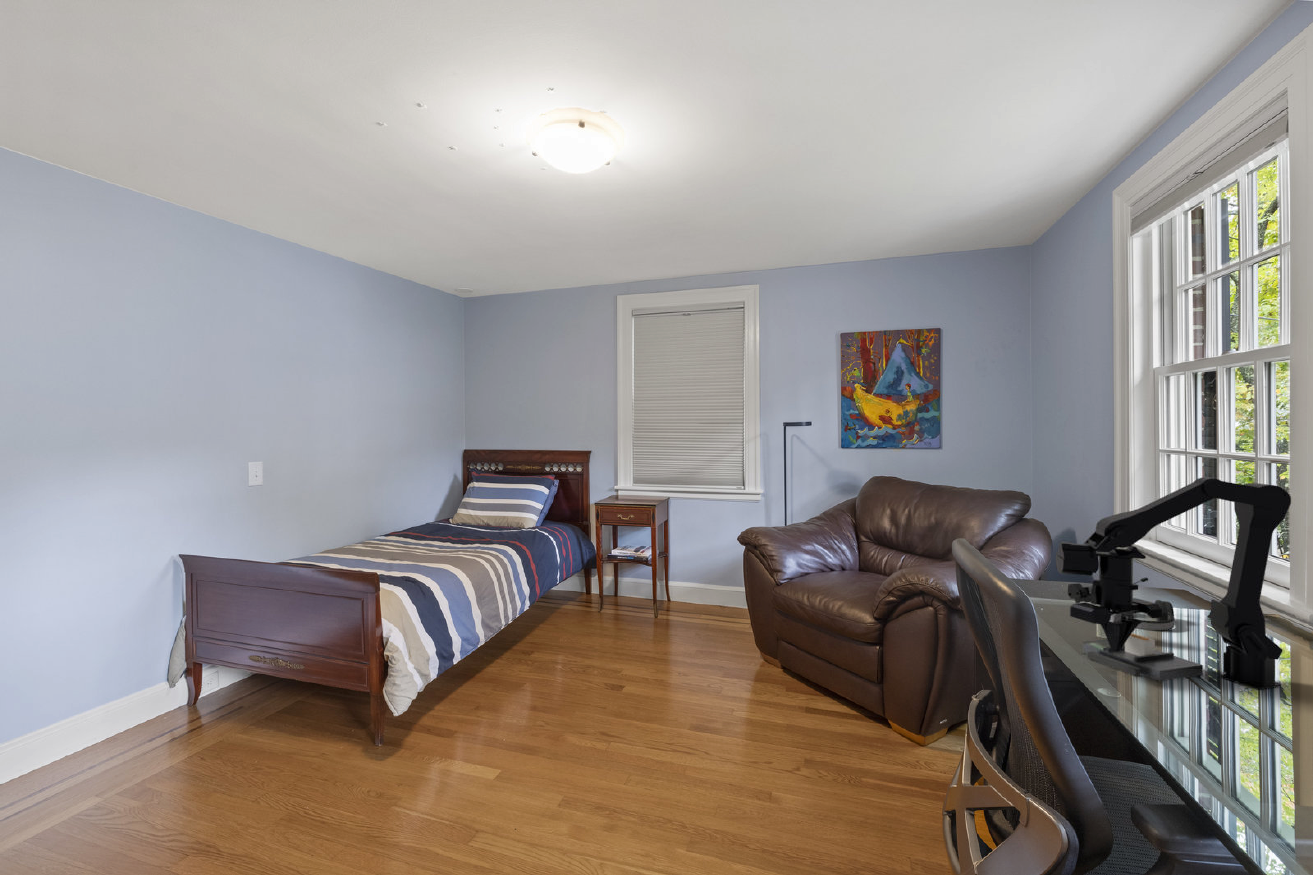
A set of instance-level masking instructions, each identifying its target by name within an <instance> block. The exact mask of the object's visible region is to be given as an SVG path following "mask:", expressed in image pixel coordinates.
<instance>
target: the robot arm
mask: <svg viewBox="0 0 1313 875" xmlns="http://www.w3.org/2000/svg"><path fill="white" fill-rule="evenodd" d="M1214 499H1218V500H1223V501H1227V502H1233V503H1234V504H1233V505H1234V506H1233V507H1234V513H1235V516H1236V519H1237V522H1238V525H1239V527H1238V528H1239V529H1238V534H1237V539H1236V545H1235V547H1234V548H1235V549H1234V555H1233V559H1232V565H1231V571H1230V576H1229V582H1228V587H1227V592H1226V594H1225V595H1224V597H1222V599H1221V600H1216V599H1213V598H1212V599H1211V601H1210V611H1209V613H1208V615H1207V616H1206V618H1207V619H1209V620H1210V626H1211V628H1212V629H1213V630H1214V631H1215V633H1216V634H1219V635H1220V636H1221V639H1222V642H1224V643H1225V644H1227V645H1226V646H1225V651H1224V652H1223V654H1222V655H1223V656H1222V658H1223V661H1222V662H1223V663H1222V664H1223V666H1222V667H1223V668H1222V669H1223V673H1220V675H1219V676H1220V678H1222V679H1226V680H1229V681H1232V682H1235V683H1237V684H1241V685H1244V686H1247V687H1251V688H1254V689H1256V690H1264V689H1265V690H1266V689H1273V688H1278V687H1281V685H1282V684H1281V682H1277V681H1276V660H1279V659H1280V657H1281V655H1282V653H1283V651H1284V650H1283V649H1282V647H1280V646H1279V645H1278V644H1277V643H1275V642H1274V641H1273V640H1272V639H1270V637H1268V636H1267V634H1266V631H1267V630H1266V618H1265V615H1264V613H1263V612H1264V611H1263V608H1262V606H1261V604H1260V603H1261V597H1262V595H1261V594H1262V590H1263V587H1264V586H1263V585H1264V581H1265V575H1266V569H1267V565H1268V559H1269V558H1268V557H1269V554H1270V550H1271V549H1270V548H1271V542H1272V538H1273V533H1274V531H1275V530H1276V529H1277V528H1278V527H1279V525H1280V524H1282V523H1283V521H1284V520H1285V518H1286V516H1287V514H1288V512H1289V509H1290V507H1291V504H1292V497H1291V494H1290V493H1289V492H1287V490H1285V489H1284V488H1283V487H1281V486H1278V485H1275V484H1267V483H1256V482H1249V483H1245V484H1241V483H1240V484H1239V483H1235V482H1230V481H1224V480H1221V479H1219V478H1213V477H1199V478H1196V479H1195V480H1194V481H1193V482H1191V483H1189V484H1187V485H1184V486H1183V487H1181V488H1179V489H1177V490H1175V491H1173V492H1171V493H1169V494H1166V495H1165V496H1162V497H1160V498H1158V499H1155V500H1154V501H1152V502H1150V503H1147V504H1146V505H1144V506H1142V507H1140V508H1136V509H1134V510H1130V511H1125V512H1119V513H1117V514H1112V515H1110V516H1109V515H1108V516H1106V517H1102V519H1100V520H1098V521H1097V523H1096V525H1095V526H1096V527H1095V531H1094V532H1093V533H1092V534H1090V536H1089V537H1088V538H1087V539H1086V540H1085V541H1084V542H1083V543H1071V542H1066V541H1060V542H1059V543H1058V544H1059V547H1058V549H1057V552H1056V555H1055V564H1056V570H1057V572H1058V574H1060V575H1061V574H1063V575H1078V576H1090V577H1091V576H1093V574H1096V573H1097V572H1098V579H1093V581H1092V586H1084V587H1083V585H1082V584H1081V583H1080V582H1079V583H1071V584H1067V596H1068V597H1069V599H1071V600H1074V602H1075V603H1073V604H1071V605H1070V606H1069V617H1072V618H1075V619H1079V620H1081V621H1084V622H1087V623H1091V624H1094V625H1097V624H1100V625H1101V626H1102V628H1103V630H1104V632H1105V634H1106V637H1107V638H1106V639H1107V640H1108V642H1109V645H1110V647H1111V650H1112V651H1115V652H1119V651H1120V650H1121V648H1122V647H1123V645H1124V644H1125V642H1126V641H1127V639H1128V638H1129V636H1130V635H1131V634H1133V632H1134V631H1135V630H1136V629H1137V628H1136V627H1137V626H1138V625H1139V624H1141V623H1142V621H1140V620H1141V619H1139V620H1137V619H1138V618H1136V616H1135V615H1134V614H1139V613H1142V614H1146V615H1147V617H1149V618H1150V619H1156V618H1162V609H1161V607H1160V606H1159V605H1158V604H1157V603H1155V602H1152V601H1148V600H1145V599H1144V600H1143V599H1140V598H1137V597H1135V598H1134V591H1138V590H1139V584H1137V583H1136V584H1133V583H1134V559H1136V560H1137V559H1138V560H1139V559H1140V560H1141V559H1142V560H1145V559H1146V558H1147V556H1146V555H1145V554H1143V553H1142V552H1141V551H1140V550H1139V549H1138V547H1137V546H1134V544H1136V543H1137V542H1139V541H1140V540H1142V539H1143V538H1145V537H1146V536H1147V535H1148V533H1149V532H1151V530H1153V529H1154V528H1155V527H1157V526H1159V525H1161V524H1163V523H1165V522H1167V521H1169V520H1171V519H1173V518H1175V517H1177V516H1180V515H1182V514H1183V513H1186V512H1189V511H1190V510H1192V509H1195V508H1197V507H1199V506H1201V505H1203V504H1205V503H1207V502H1210V501H1212V500H1214ZM1096 605H1100V606H1096Z"/></svg>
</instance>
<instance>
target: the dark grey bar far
mask: <svg viewBox="0 0 1313 875" xmlns="http://www.w3.org/2000/svg"><path fill="white" fill-rule="evenodd" d="M1103 641H1108V640H1107V638H1105V639H1099V640H1098V639H1097V640H1090V641H1083V643H1082V644H1085V643H1094V642H1103Z"/></svg>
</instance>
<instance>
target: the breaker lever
mask: <svg viewBox="0 0 1313 875" xmlns="http://www.w3.org/2000/svg"><path fill="white" fill-rule="evenodd" d="M1155 650H1156V640H1155V639H1152V638H1149V637H1146V636H1143V635H1140V634H1136V633H1132V634H1131V635H1130V636H1129V638H1128V639H1127V641H1126V642H1125V651H1126V652H1129V653H1131V654H1134V655H1137V656H1144V655H1153V654H1155Z"/></svg>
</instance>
